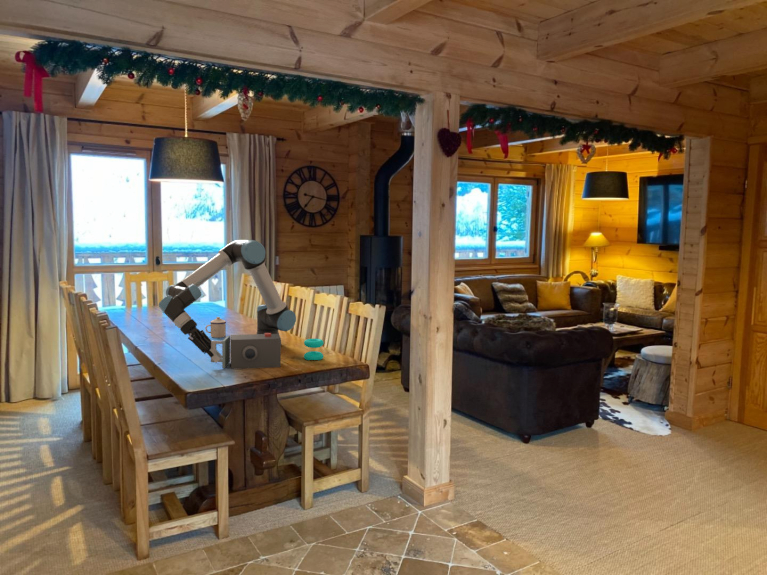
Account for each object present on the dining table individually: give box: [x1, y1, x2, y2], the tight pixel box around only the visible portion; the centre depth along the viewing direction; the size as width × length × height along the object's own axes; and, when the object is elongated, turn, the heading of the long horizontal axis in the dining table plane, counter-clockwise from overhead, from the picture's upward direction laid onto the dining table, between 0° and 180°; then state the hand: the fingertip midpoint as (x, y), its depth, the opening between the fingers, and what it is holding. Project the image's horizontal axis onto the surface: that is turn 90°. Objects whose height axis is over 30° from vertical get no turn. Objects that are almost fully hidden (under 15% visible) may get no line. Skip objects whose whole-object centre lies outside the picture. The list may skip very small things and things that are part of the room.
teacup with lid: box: [205, 316, 227, 339], centre depth 362 cm, size 12×9×12 cm
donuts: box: [303, 338, 325, 361], centre depth 312 cm, size 10×10×10 cm
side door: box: [210, 335, 231, 369], centre depth 293 cm, size 13×7×13 cm, turn 3°
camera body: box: [230, 333, 282, 370], centre depth 295 cm, size 14×23×15 cm, turn 106°
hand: (219, 359), depth 289 cm, fingers open, 3 cm apart
